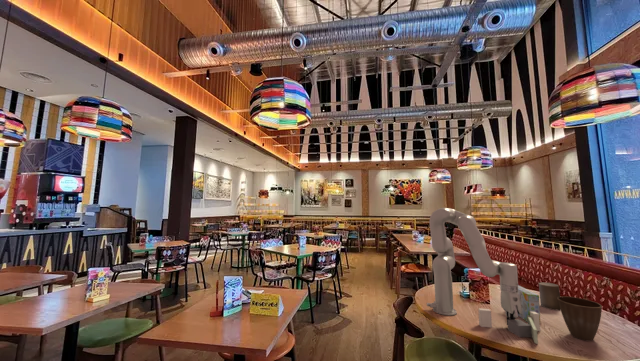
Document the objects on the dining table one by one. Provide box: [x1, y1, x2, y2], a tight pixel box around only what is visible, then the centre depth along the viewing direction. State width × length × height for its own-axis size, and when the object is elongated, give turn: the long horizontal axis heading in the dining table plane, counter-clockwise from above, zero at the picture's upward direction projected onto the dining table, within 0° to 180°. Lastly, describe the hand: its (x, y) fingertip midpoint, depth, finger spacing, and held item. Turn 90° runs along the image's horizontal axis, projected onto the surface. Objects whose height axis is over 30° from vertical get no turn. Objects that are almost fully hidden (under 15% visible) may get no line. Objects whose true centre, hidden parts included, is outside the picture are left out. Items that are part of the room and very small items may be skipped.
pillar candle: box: [538, 281, 561, 311], centre depth 161 cm, size 10×10×15 cm
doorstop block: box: [506, 319, 532, 338], centre depth 124 cm, size 6×7×5 cm
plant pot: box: [558, 296, 603, 342], centre depth 122 cm, size 15×15×16 cm
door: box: [527, 315, 539, 345], centre depth 122 cm, size 18×2×6 cm, turn 148°
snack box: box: [518, 284, 541, 326], centre depth 145 cm, size 21×6×15 cm, turn 168°
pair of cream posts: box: [477, 308, 541, 332], centre depth 131 cm, size 27×3×8 cm, turn 82°
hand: (511, 326), depth 130 cm, fingers closed
